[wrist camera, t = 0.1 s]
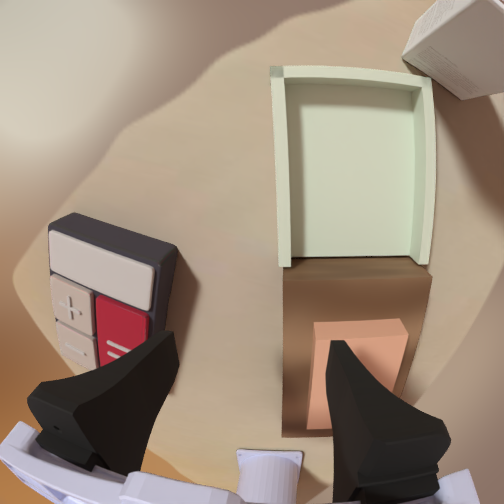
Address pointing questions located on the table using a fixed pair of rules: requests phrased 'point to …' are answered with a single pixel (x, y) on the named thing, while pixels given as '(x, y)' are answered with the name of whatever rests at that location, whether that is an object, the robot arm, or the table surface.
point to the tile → (367, 351)
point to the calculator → (106, 288)
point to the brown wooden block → (344, 316)
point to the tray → (353, 162)
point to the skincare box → (461, 46)
